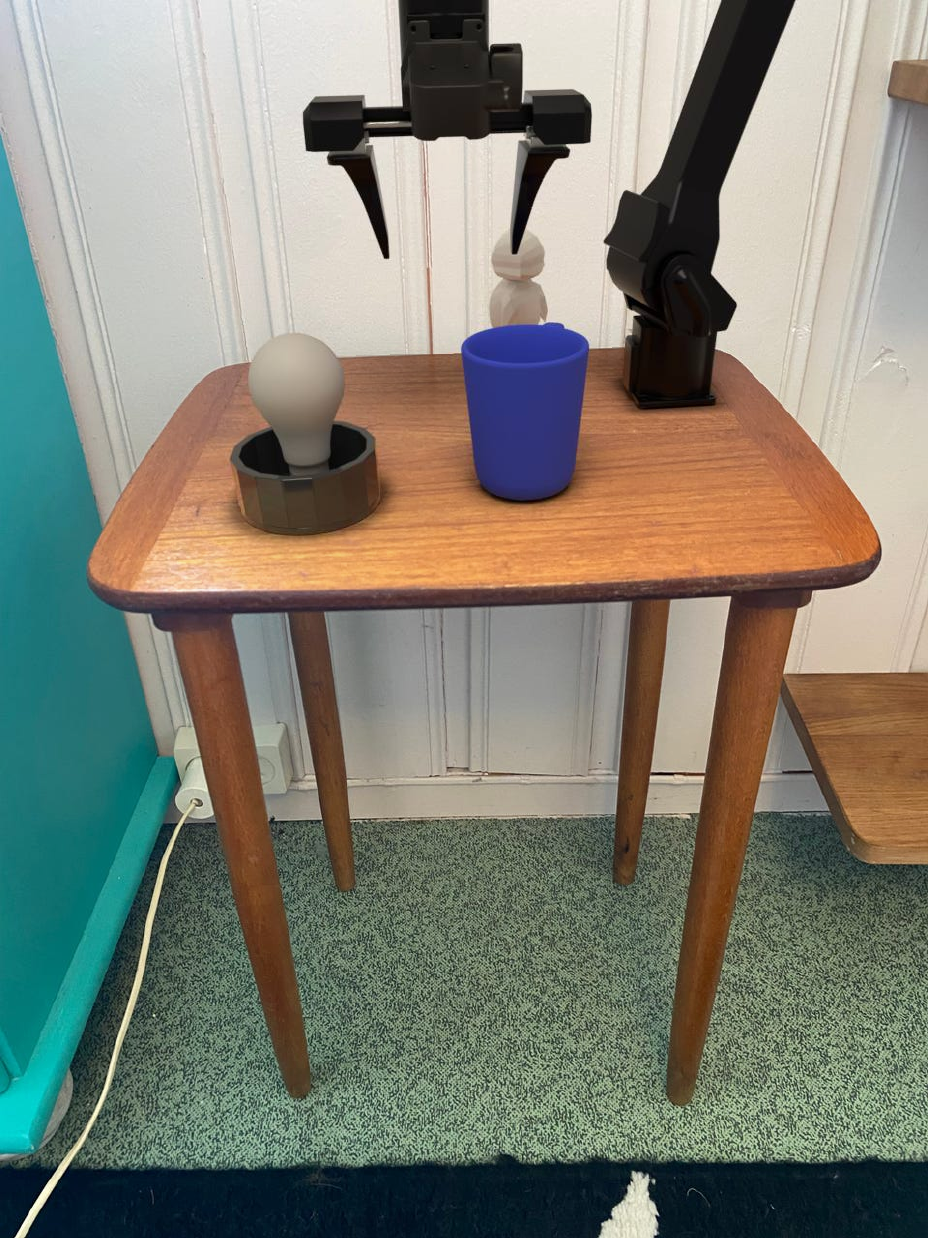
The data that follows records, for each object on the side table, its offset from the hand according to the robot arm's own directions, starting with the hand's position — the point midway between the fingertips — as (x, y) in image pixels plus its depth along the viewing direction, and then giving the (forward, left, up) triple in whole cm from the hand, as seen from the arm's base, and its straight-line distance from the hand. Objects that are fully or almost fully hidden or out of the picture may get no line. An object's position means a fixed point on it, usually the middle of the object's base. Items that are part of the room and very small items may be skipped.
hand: (450, 255), depth 66 cm
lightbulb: (+11, +12, -13) cm, 20 cm away
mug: (-5, +9, -13) cm, 17 cm away
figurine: (-6, -13, -13) cm, 20 cm away
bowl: (+11, +12, -13) cm, 21 cm away
